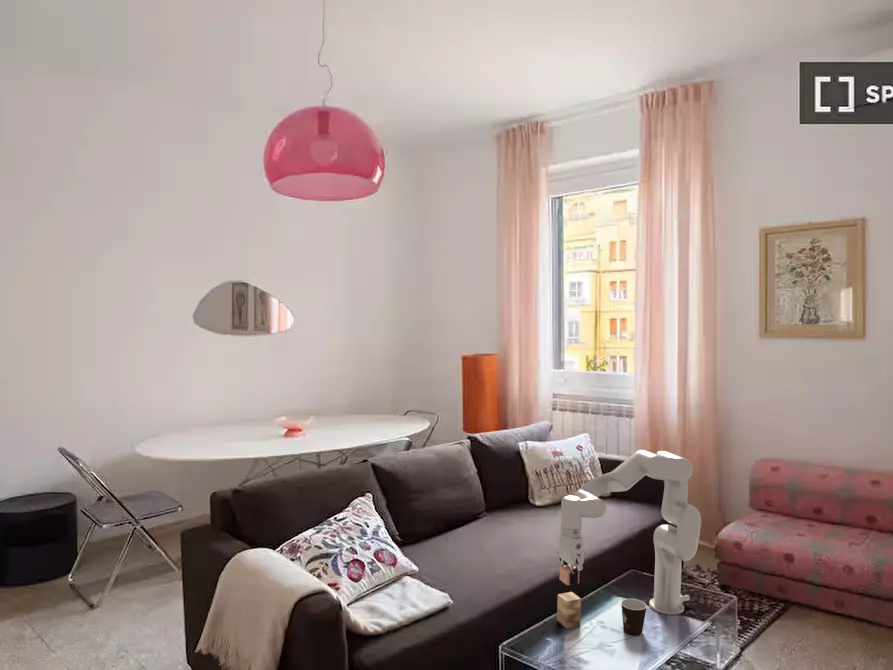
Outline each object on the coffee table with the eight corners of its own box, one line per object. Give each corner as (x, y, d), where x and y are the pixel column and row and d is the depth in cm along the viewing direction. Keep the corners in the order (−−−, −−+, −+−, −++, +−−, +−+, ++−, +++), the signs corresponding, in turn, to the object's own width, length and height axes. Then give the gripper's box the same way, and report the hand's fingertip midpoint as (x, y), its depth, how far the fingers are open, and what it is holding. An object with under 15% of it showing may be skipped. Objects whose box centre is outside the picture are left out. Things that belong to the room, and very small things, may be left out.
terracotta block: (571, 577, 244) (571, 564, 244) (578, 583, 239) (579, 569, 239) (559, 579, 242) (559, 566, 242) (567, 585, 237) (567, 571, 237)
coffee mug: (646, 639, 232) (647, 611, 231) (620, 636, 233) (621, 608, 233) (643, 623, 243) (644, 596, 242) (619, 620, 245) (620, 593, 244)
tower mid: (571, 604, 245) (571, 591, 245) (580, 612, 240) (581, 598, 240) (557, 607, 243) (557, 594, 243) (566, 615, 238) (566, 601, 237)
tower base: (570, 618, 246) (571, 604, 245) (580, 625, 240) (580, 612, 240) (556, 621, 243) (557, 607, 243) (565, 628, 238) (566, 615, 238)
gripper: (593, 538, 233) (591, 588, 234) (566, 522, 249) (565, 569, 250) (575, 540, 230) (573, 592, 231) (549, 524, 246) (547, 572, 247)
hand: (569, 579), depth 241 cm, fingers closed on terracotta block, 5 cm apart
